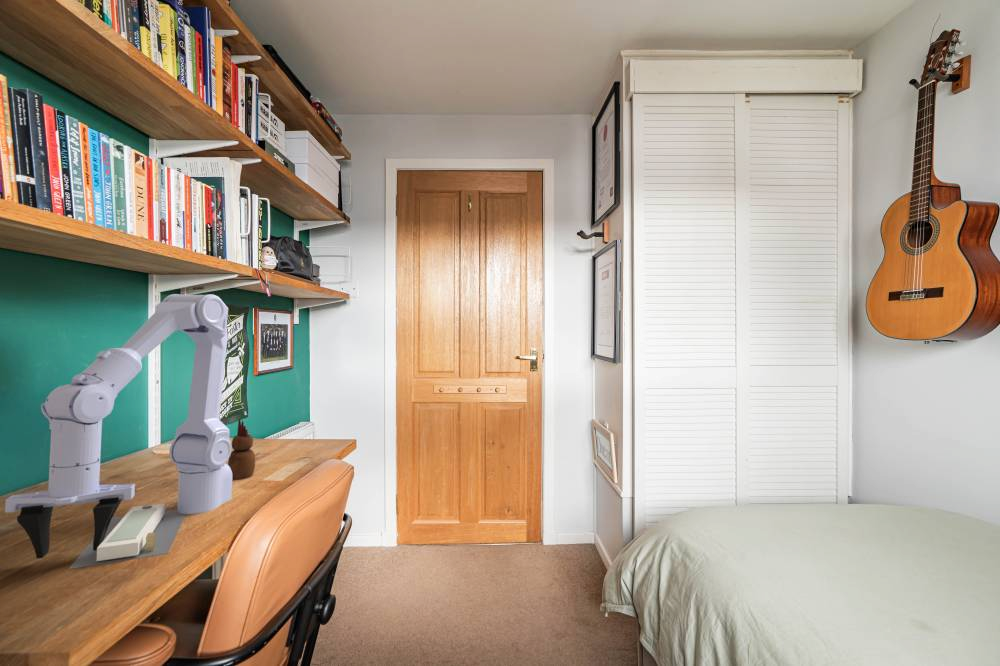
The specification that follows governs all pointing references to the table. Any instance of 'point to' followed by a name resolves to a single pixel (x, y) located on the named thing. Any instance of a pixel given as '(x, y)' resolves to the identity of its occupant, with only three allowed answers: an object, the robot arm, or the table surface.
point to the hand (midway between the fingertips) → (71, 551)
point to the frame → (131, 532)
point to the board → (154, 544)
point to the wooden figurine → (242, 454)
